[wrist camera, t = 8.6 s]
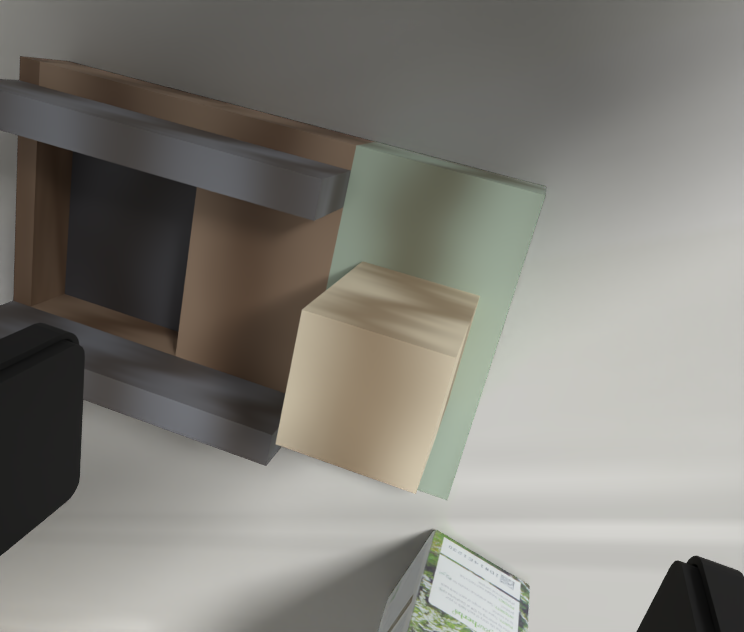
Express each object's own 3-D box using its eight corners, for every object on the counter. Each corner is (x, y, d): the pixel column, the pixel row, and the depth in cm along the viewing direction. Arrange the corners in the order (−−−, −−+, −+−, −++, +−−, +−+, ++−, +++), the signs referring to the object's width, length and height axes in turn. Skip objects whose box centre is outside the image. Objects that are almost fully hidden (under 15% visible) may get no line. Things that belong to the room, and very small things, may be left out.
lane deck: (546, 186, 27) (544, 208, 21) (456, 466, 32) (434, 549, 26) (68, 61, 31) (-50, 49, 25) (54, 327, 36) (-47, 371, 30)
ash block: (480, 295, 26) (456, 357, 19) (447, 403, 28) (415, 494, 21) (362, 261, 27) (301, 309, 20) (338, 368, 28) (275, 444, 22)
